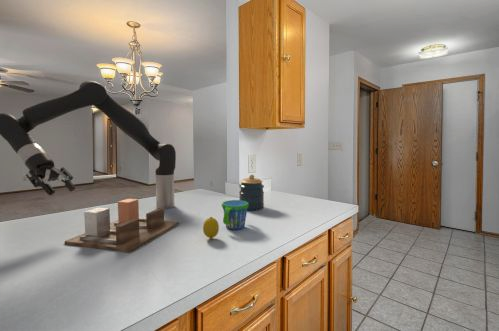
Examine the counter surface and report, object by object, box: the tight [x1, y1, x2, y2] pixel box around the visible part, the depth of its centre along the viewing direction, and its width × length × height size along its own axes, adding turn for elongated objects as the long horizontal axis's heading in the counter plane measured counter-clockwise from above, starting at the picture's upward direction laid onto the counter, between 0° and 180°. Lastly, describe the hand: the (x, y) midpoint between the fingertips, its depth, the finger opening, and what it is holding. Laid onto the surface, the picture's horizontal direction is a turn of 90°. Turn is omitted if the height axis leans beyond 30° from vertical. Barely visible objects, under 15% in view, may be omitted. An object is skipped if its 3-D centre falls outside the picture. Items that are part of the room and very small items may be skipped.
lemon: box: [202, 216, 220, 240], centre depth 97 cm, size 6×6×8 cm
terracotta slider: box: [117, 198, 140, 223], centre depth 111 cm, size 5×6×9 cm
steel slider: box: [83, 207, 111, 238], centre depth 96 cm, size 5×6×9 cm
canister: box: [238, 174, 265, 212], centre depth 141 cm, size 13×13×18 cm
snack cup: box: [221, 199, 249, 231], centre depth 109 cm, size 16×10×10 cm
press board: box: [64, 208, 180, 253], centre depth 102 cm, size 26×30×7 cm
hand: (63, 191), depth 98 cm, fingers open, 8 cm apart
